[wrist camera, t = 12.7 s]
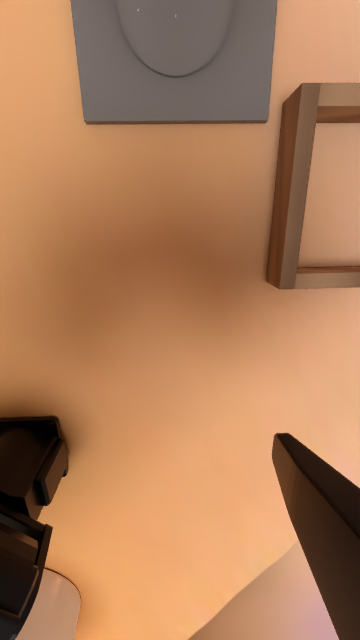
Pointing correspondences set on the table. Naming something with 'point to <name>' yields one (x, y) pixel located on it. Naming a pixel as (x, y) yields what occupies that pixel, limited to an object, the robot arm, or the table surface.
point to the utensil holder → (53, 610)
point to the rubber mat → (168, 91)
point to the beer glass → (175, 32)
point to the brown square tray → (305, 183)
